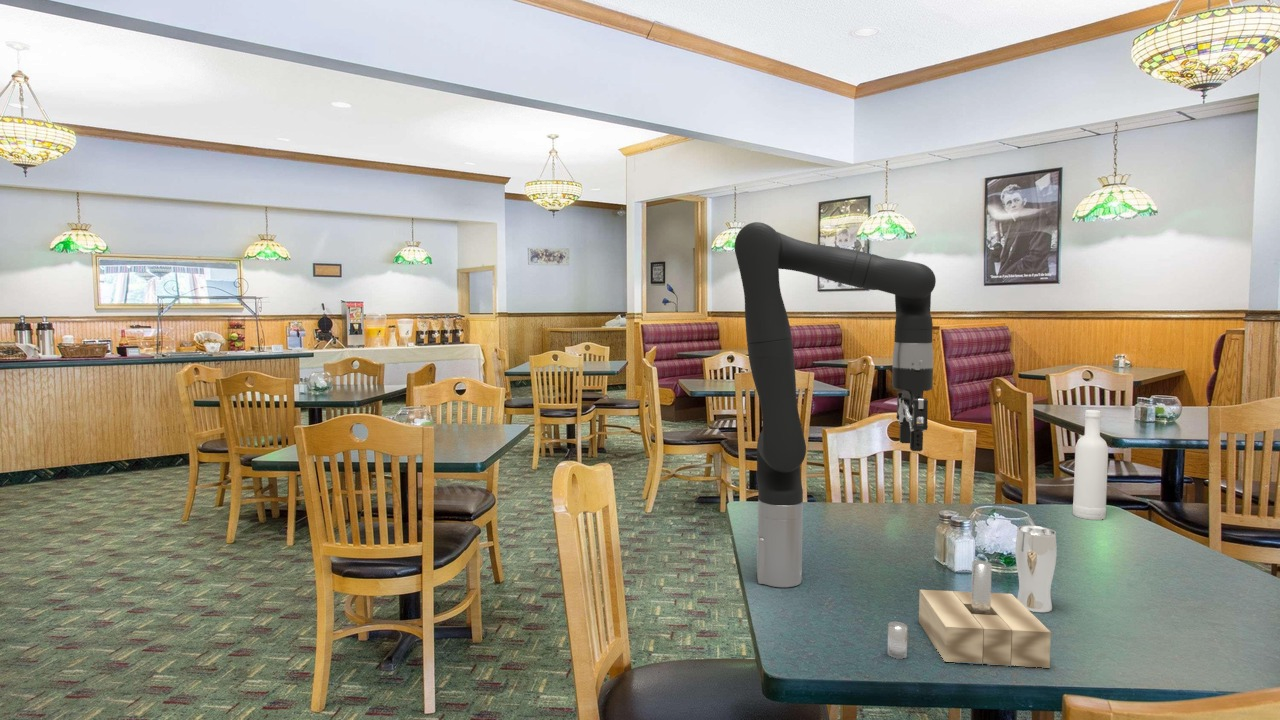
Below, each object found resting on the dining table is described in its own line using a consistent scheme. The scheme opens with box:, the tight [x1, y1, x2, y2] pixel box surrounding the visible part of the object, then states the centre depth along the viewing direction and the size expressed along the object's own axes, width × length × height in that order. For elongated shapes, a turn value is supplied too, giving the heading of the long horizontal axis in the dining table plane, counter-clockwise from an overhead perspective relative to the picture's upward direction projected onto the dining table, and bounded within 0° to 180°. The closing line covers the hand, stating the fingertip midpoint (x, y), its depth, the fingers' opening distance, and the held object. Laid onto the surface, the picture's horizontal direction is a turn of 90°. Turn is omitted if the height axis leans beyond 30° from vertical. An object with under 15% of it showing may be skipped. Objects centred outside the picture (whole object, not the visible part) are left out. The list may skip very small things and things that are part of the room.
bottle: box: [1072, 409, 1109, 521], centre depth 202 cm, size 8×8×30 cm
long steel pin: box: [970, 560, 993, 615], centre depth 123 cm, size 3×3×14 cm
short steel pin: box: [887, 621, 908, 660], centre depth 120 cm, size 3×3×5 cm
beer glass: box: [1015, 525, 1058, 613], centre depth 139 cm, size 7×7×15 cm
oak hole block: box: [918, 589, 1052, 669], centre depth 124 cm, size 16×16×6 cm
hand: (910, 446), depth 144 cm, fingers open, 8 cm apart
